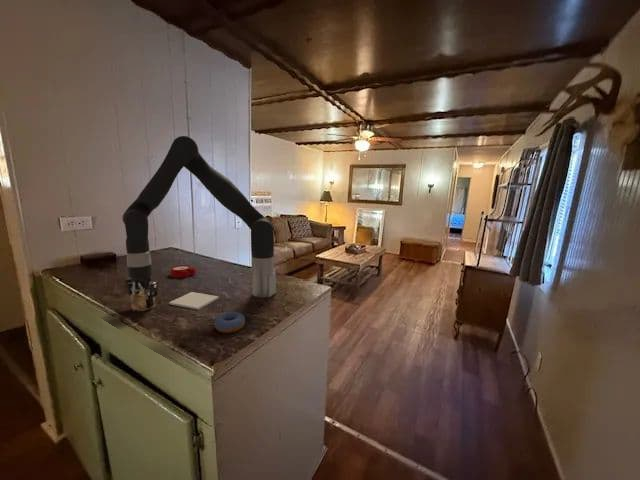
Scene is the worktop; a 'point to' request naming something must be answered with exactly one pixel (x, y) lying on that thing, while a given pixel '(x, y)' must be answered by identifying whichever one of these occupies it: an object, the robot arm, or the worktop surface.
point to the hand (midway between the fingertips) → (143, 306)
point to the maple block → (140, 302)
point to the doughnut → (229, 322)
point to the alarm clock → (182, 271)
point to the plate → (194, 300)
